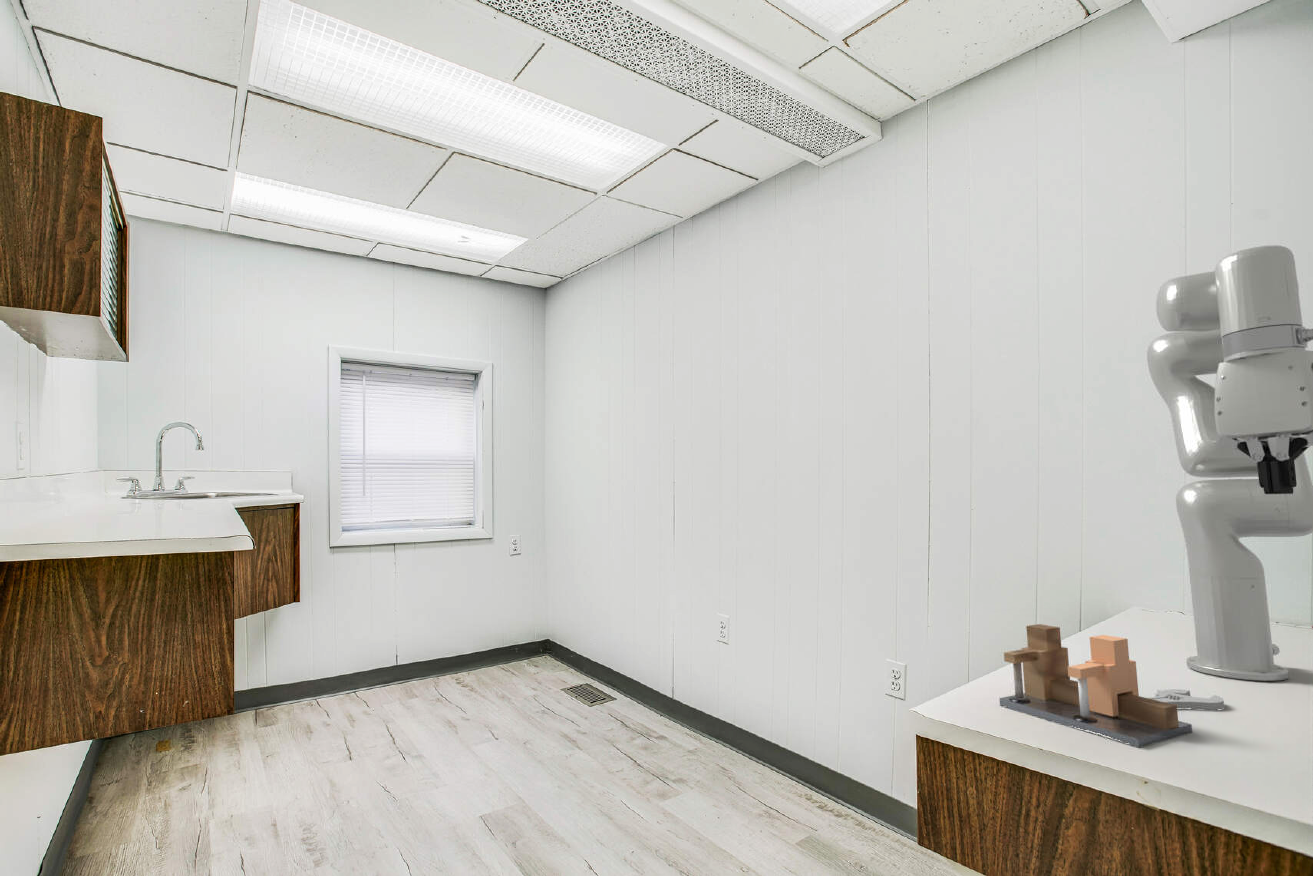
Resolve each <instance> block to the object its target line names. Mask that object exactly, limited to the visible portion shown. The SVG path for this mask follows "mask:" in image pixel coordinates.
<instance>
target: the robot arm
mask: <svg viewBox="0 0 1313 876" xmlns="http://www.w3.org/2000/svg"><path fill="white" fill-rule="evenodd" d="M1296 268H1297V267H1296V261H1295V256H1294V254H1293V251H1292V250H1291V249H1289V248H1288V247H1286V246H1282V245H1278V244H1277V245H1261V246H1254V247H1250V248H1246V249H1245V248H1244V249H1241V250H1239V251H1236V252H1232V253H1231V254H1228V255H1226V256H1224V257H1223V258H1222V259H1220V260H1219V261H1218V262H1217V263H1216V265H1215V268H1214V271H1207V272H1202V273H1196V274H1189V275H1184V276H1178V277H1174V278H1171V279H1168V280H1166V281H1165V282H1164V283H1162V284H1161V286H1160V287H1159V289H1158V291H1157V295H1156V301H1155V302H1156V303H1155V309H1156V310H1155V311H1156V315H1157V320H1158V322H1159V324H1160V326H1161V327H1162V329H1163V330H1164V331H1165V332H1169V333H1166V334H1163V335H1160V336H1158V337H1157V338H1154V339H1153V340H1152V341H1151V342H1150V343H1149V345H1148V348H1147V351H1146V352H1147V353H1146V358H1147V359H1146V360H1147V367H1148V370H1149V375H1150V377H1151V380H1152V382H1153V384H1154V387H1155V388H1156V390H1157V391H1158V393H1159V395H1160V397H1161V398H1162V400H1163V401H1164V403H1165V404H1166V405H1167V408H1168V410H1169V412H1170V417H1171V423H1172V428H1173V433H1174V439H1175V445H1176V446H1175V447H1176V451H1177V455H1178V460H1179V464H1180V466H1181V468H1182V469H1183V471H1184V472H1185V473H1186V474H1188V475H1189V476H1192V477H1195V478H1196V477H1197V478H1205V480H1198V481H1193V482H1190V483H1188V484H1185V485H1183V486H1182V487H1181V488H1180V489H1179V490H1178V491H1177V493H1176V497H1175V506H1176V507H1175V508H1176V511H1177V515H1178V518H1179V522H1180V525H1181V529H1182V533H1183V537H1184V543H1185V548H1186V554H1187V560H1188V571H1189V573H1188V574H1189V580H1190V581H1189V582H1190V592H1191V593H1190V594H1191V602H1192V604H1191V605H1192V614H1193V622H1194V632H1195V633H1194V635H1195V642H1196V643H1195V644H1196V652H1197V653H1196V654H1197V655H1195V656H1190V657H1188V658H1186V666H1187V667H1188V668H1189V669H1192V670H1193V671H1197V672H1200V673H1204V674H1206V675H1213V676H1218V677H1224V678H1230V679H1235V680H1236V679H1238V680H1247V681H1259V682H1261V681H1262V682H1263V681H1264V682H1272V681H1273V682H1275V681H1283V680H1287V679H1288V678H1289V677H1290V675H1289V670H1288V669H1287V668H1285V667H1283V666H1282V665H1281V666H1280V665H1279V664H1275V659H1274V656H1276V655H1279V654H1280V652H1281V651H1280V647H1279V646H1278V645H1276V644H1274V643H1273V641H1272V632H1271V622H1270V615H1269V613H1270V612H1269V604H1268V596H1267V595H1268V594H1267V585H1266V577H1265V575H1266V574H1265V569H1264V566H1263V563H1262V561H1261V560H1260V558H1259V557H1258V556H1257V555H1256V553H1254V552H1253V551H1252V550H1250V548H1248V547H1247V546H1246V545H1244V544H1243V543H1242V542H1241V541H1240V539H1241V538H1250V537H1251V538H1252V537H1253V538H1257V537H1258V538H1292V537H1293V538H1295V537H1296V538H1297V537H1299V538H1300V537H1305V536H1307V535H1310V534H1313V482H1312V481H1313V480H1312V478H1311V474H1310V472H1309V471H1310V469H1309V467H1308V463H1307V459H1306V456H1305V453H1304V452H1305V451H1306V450H1307V449H1308V448H1310V447H1312V446H1313V350H1309V349H1308V350H1307V348H1308V343H1310V342H1312V341H1313V328H1306V327H1305V326H1303V317H1302V310H1301V309H1302V308H1301V302H1300V292H1299V283H1298V282H1299V281H1298V276H1297V269H1296ZM1215 374H1216V376H1215V385H1214V386H1215V387H1214V386H1212V385H1211V384H1210V383H1207V382H1206V381H1203V380H1201V378H1198V377H1197V376H1203V375H1215ZM1206 478H1211V479H1207V480H1206ZM1212 478H1213V479H1212ZM1215 478H1216V479H1215ZM1219 478H1220V479H1219ZM1221 478H1223V479H1221ZM1224 478H1228V479H1224ZM1231 478H1232V479H1231ZM1235 478H1236V479H1235ZM1244 478H1246V479H1244ZM1247 478H1248V479H1247ZM1251 478H1252V479H1251Z"/></svg>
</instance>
